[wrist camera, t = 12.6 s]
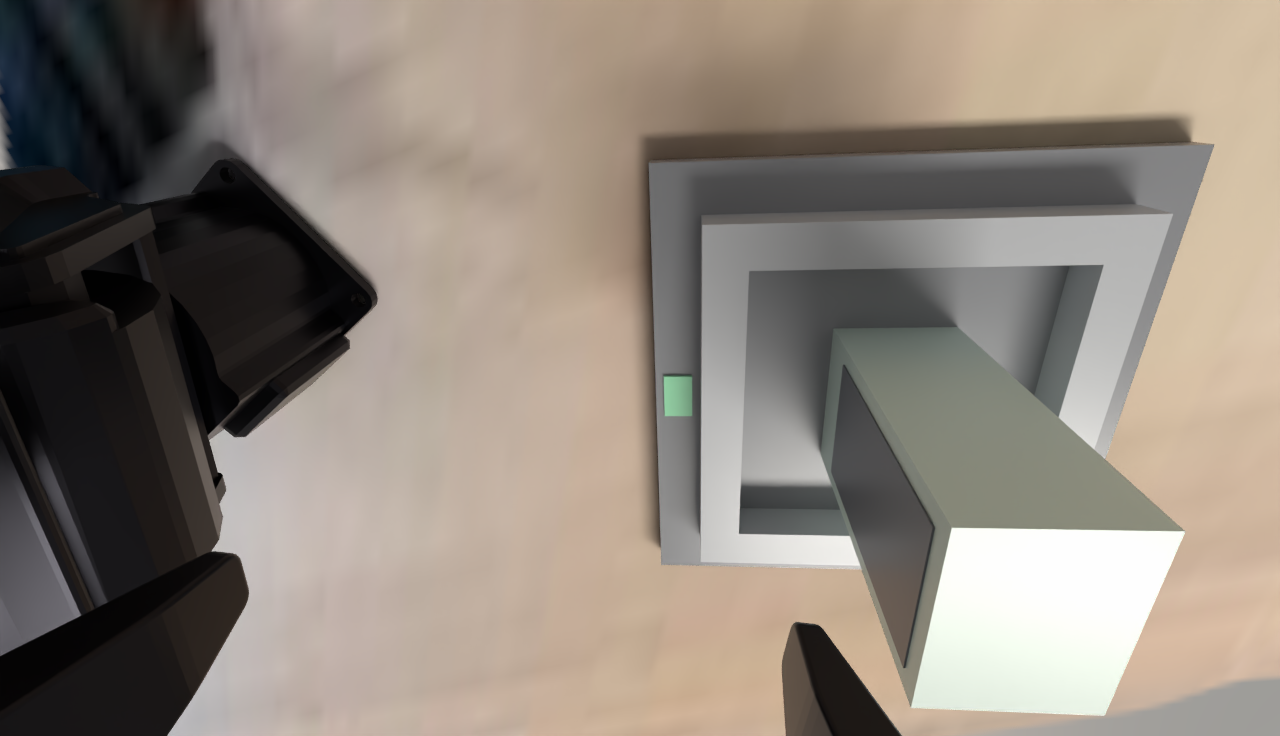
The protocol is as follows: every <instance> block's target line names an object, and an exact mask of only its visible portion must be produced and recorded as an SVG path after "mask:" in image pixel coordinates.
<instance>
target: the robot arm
mask: <svg viewBox="0 0 1280 736" xmlns="http://www.w3.org/2000/svg"><path fill="white" fill-rule="evenodd" d="M229 169H231V170H232V171H233V173H234V174H235V181H234V180H232V179H231V178H230V176H229V173H228V170H229ZM357 294H360V295H362V296H363V297H364V298H365V303H362V302H360V301H359V300H358V298H357ZM377 299H378V298H377V295H376V292H375V291H374V290H373V288H372V287H371V286H369V285H368V284H367V283H366V282H365V281H364V280H363V279H362V278H361V277H360V276H359V275H358V274H357V273H356V272H355V271H354V270H353V269H352V268H351V267H350V266H349V265H348V264H347V263H346V262H345V261H344V260H343V259H342V258H341V257H340V256H339V255H338V254H336V253H335V252H334V251H333V250H332V249H331V248H330V247H329V246H328V245H327V244H326V243H325V242H324V241H323V240H322V239H321V238H320V237H319V236H318V235H317V234H316V233H315V232H314V231H313V230H312V229H311V228H310V227H309V226H308V225H307V224H306V223H305V222H303V221H302V220H301V219H300V218H299V217H298V216H297V215H296V214H295V213H294V212H293V211H292V210H291V209H290V208H289V207H288V206H287V205H286V204H285V203H284V202H283V201H282V200H281V199H280V198H279V197H278V196H277V195H276V194H275V193H274V192H273V191H271V190H270V189H269V188H268V187H267V186H266V185H265V184H264V183H263V182H262V181H261V180H260V179H259V178H258V177H257V176H256V175H255V174H254V173H253V172H252V171H251V170H250V169H249V168H248V167H247V166H246V165H245V164H244V163H242V162H241V161H239V160H237V159H234V158H230V159H223V160H218V161H217V162H215V163H214V164H213V166H212V167H211V168H210V170H209V171H208V172H207V173H206V175H205V176H204V177H203V178H202V180H201V181H200V182H199V184H198V185H197V186H196V187H195V189H194V190H193V191H192V192H191V194H186V195H182V196H177V197H172V198H168V199H163V200H159V201H154V202H149V203H145V204H140V205H138V204H128V203H119V202H115V201H110V200H104V199H99V197H98V193H97V192H92V191H90V190H89V189H88V188H87V187H86V186H85V185H84V184H82V183H81V182H80V181H79V180H78V179H77V178H76V177H74V176H73V175H72V174H71V173H70V172H69V171H68V170H66V169H65V168H63V167H53V166H43V165H38V166H29V167H21V168H13V169H5V170H0V736H167V735H168V733H169V732H170V731H171V729H172V728H173V726H174V725H175V723H176V722H177V720H178V719H179V718H180V716H181V715H182V713H183V712H184V710H185V709H186V707H187V706H188V704H189V703H190V701H191V700H192V698H193V696H194V695H195V693H196V691H197V690H198V688H199V687H200V685H201V683H202V682H203V680H204V678H205V676H206V675H207V673H208V671H209V669H210V667H211V666H212V664H213V662H214V660H215V659H216V657H217V655H218V653H219V652H220V650H221V648H222V646H223V645H224V643H225V641H226V639H227V638H228V636H229V634H230V632H231V631H232V629H233V627H234V625H235V624H236V622H237V620H238V618H239V617H240V615H241V613H242V611H243V610H244V608H245V606H246V603H247V601H248V596H249V589H248V585H247V581H246V577H245V574H244V570H243V566H242V563H241V560H240V558H239V557H238V556H237V555H236V554H233V553H224V552H216V551H214V552H211V551H212V549H213V548H214V546H215V545H216V543H217V542H218V540H219V537H220V531H221V524H222V518H223V516H222V512H221V509H220V505H219V503H220V501H221V499H222V497H223V496H224V494H225V492H226V486H225V482H224V479H223V475H222V474H221V473H218V472H217V468H216V464H215V461H214V457H213V453H212V450H211V446H210V442H209V440H210V439H211V438H213V437H214V436H215V435H217V434H218V433H219V432H221V431H222V430H223V429H225V430H226V431H227V432H229V433H230V434H231V435H232V436H234V437H246V436H247V435H248V434H250V433H251V432H252V431H253V430H255V429H256V428H257V427H259V426H260V425H261V424H262V423H264V422H265V421H266V420H267V419H269V418H270V417H271V416H272V415H274V414H275V413H276V412H277V411H279V410H280V409H281V408H283V407H284V406H285V405H286V404H288V403H289V402H290V401H291V400H293V399H294V398H295V397H296V396H298V395H299V394H300V393H301V392H303V391H304V390H305V389H306V388H308V387H309V386H310V385H312V384H313V383H314V382H315V381H316V380H317V379H318V378H319V377H320V376H321V375H322V374H323V373H324V372H325V371H326V370H327V369H329V368H330V367H331V366H332V365H333V364H334V363H335V362H336V361H337V360H338V359H339V358H340V357H341V356H342V355H343V354H344V353H345V352H346V351H347V350H349V349H350V340H348V339H347V338H346V337H345V335H346V334H347V333H348V332H349V331H350V330H351V329H352V328H354V327H355V326H356V325H357V324H358V323H359V322H360V321H361V320H362V319H363V318H364V317H365V316H366V315H367V314H368V313H369V312H370V311H371V310H372V309H373V308H374V307H375V306H376V304H377ZM782 682H783V697H784V713H785V728H786V736H902V735H901V734H900V732H899V731H898V730H897V728H896V727H895V726H894V724H893V723H892V722H891V720H890V719H889V718H888V716H887V715H886V714H885V712H884V711H883V710H882V708H881V707H880V705H879V704H878V703H877V701H876V700H875V699H874V697H873V696H872V695H871V693H870V692H869V691H868V689H867V688H866V687H865V685H864V684H863V683H862V681H861V680H860V678H859V677H858V676H857V674H856V673H855V672H854V670H853V669H852V668H851V666H850V665H849V664H848V662H847V661H846V660H845V658H844V657H843V656H842V654H841V653H840V651H839V650H838V649H837V647H836V646H835V645H834V643H833V642H832V641H831V639H830V638H829V637H828V635H827V634H826V633H825V631H824V630H823V629H822V628H821V627H820V626H819V625H816V624H809V623H801V622H795V623H794V624H793V625H792V627H791V629H790V633H789V636H788V640H787V644H786V648H785V651H784V655H783V660H782Z"/></svg>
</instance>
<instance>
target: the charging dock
mask: <svg viewBox="0 0 1280 736" xmlns="http://www.w3.org/2000/svg"><path fill="white" fill-rule="evenodd" d="M1213 147H1214V144H1206V143H1197V142H1179V143H1149V144H1119V145H1089V146H1059V147H1029V148H999V149H969V150H939V151H909V152H879V153H849V154H819V155H789V156H759V157H729V158H699V159H669V160H650V162H649V188H650V220H651V251H652V283H653V315H654V346H655V378H656V409H657V441H658V473H659V504H660V536H661V565H696V566H739V567H781V568H824V569H861V566H860V564H859V561H858V558H857V555H856V552H855V550H854V547H853V544H852V541H851V538H850V535H849V533H848V530H847V527H846V524H845V521H844V519H843V516H842V513H841V510H840V507H839V505H838V502H837V499H836V496H835V493H834V491H833V488H832V485H831V482H830V479H829V477H828V474H827V471H826V468H825V465H824V463H823V460H822V457H821V445H822V435H823V426H824V416H825V406H826V396H827V387H828V377H829V367H830V357H831V348H832V338H833V329H834V328H920V327H958V328H959V329H961V330H962V331H963V332H964V333H965V334H966V335H967V336H968V337H969V338H971V339H972V340H973V341H974V342H975V343H976V344H977V345H978V346H979V347H981V348H982V349H983V350H984V351H985V352H986V353H987V354H988V355H989V356H991V357H992V358H993V359H994V360H995V361H996V362H997V363H998V364H999V365H1001V366H1002V367H1003V368H1004V369H1005V370H1006V371H1007V372H1008V373H1009V374H1011V375H1012V376H1013V377H1014V378H1015V379H1016V380H1017V381H1018V382H1019V383H1021V384H1022V385H1023V386H1024V387H1025V388H1026V389H1027V390H1028V391H1030V392H1031V393H1032V394H1033V395H1034V396H1035V397H1036V398H1037V399H1038V400H1040V401H1041V402H1042V403H1043V404H1044V405H1045V406H1046V407H1047V408H1048V409H1050V410H1051V411H1052V412H1053V413H1054V414H1055V415H1056V416H1057V417H1058V418H1060V419H1061V420H1062V421H1063V422H1064V423H1065V424H1066V425H1067V426H1068V427H1070V428H1071V429H1072V430H1073V431H1074V432H1075V433H1076V434H1077V435H1078V436H1080V437H1081V438H1082V439H1083V440H1084V441H1085V442H1086V443H1087V444H1088V445H1090V446H1091V447H1092V448H1093V449H1094V450H1095V451H1096V452H1097V453H1098V454H1100V455H1101V456H1102V457H1103V458H1104V459H1105V458H1106V455H1107V453H1108V450H1109V447H1110V444H1111V441H1112V438H1113V435H1114V432H1115V429H1116V427H1117V424H1118V421H1119V418H1120V415H1121V412H1122V409H1123V406H1124V404H1125V401H1126V398H1127V395H1128V392H1129V389H1130V386H1131V383H1132V380H1133V378H1134V375H1135V372H1136V369H1137V366H1138V363H1139V360H1140V357H1141V355H1142V352H1143V349H1144V346H1145V343H1146V340H1147V337H1148V334H1149V332H1150V329H1151V326H1152V323H1153V320H1154V317H1155V314H1156V311H1157V308H1158V306H1159V303H1160V300H1161V297H1162V294H1163V291H1164V288H1165V285H1166V283H1167V280H1168V277H1169V274H1170V271H1171V268H1172V265H1173V262H1174V260H1175V257H1176V254H1177V251H1178V248H1179V245H1180V242H1181V239H1182V236H1183V234H1184V231H1185V228H1186V225H1187V222H1188V219H1189V216H1190V213H1191V211H1192V208H1193V205H1194V202H1195V199H1196V196H1197V193H1198V190H1199V187H1200V185H1201V182H1202V179H1203V176H1204V173H1205V170H1206V167H1207V164H1208V162H1209V159H1210V156H1211V153H1212V150H1213Z"/></svg>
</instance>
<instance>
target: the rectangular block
mask: <svg viewBox="0 0 1280 736" xmlns="http://www.w3.org/2000/svg"><path fill="white" fill-rule="evenodd" d="M821 457H822V460H823V463H824V465H825V468H826V471H827V474H828V477H829V479H830V482H831V485H832V488H833V491H834V493H835V496H836V499H837V502H838V505H839V507H840V510H841V513H842V516H843V519H844V521H845V524H846V527H847V530H848V533H849V535H850V538H851V541H852V544H853V547H854V550H855V552H856V555H857V558H858V561H859V564H860V566H861V569H862V572H863V575H864V578H865V580H866V583H867V586H868V589H869V592H870V594H871V597H872V600H873V603H874V606H875V608H876V611H877V614H878V617H879V620H880V622H881V625H882V628H883V631H884V634H885V636H886V639H887V642H888V645H889V648H890V650H891V653H892V656H893V659H894V662H895V664H896V667H897V670H898V673H899V676H900V679H901V681H902V684H903V687H904V690H905V693H906V695H907V698H908V701H909V704H910V707H911V708H927V709H951V710H976V711H1001V712H1025V713H1050V714H1075V715H1099V716H1105V713H1106V711H1107V709H1108V706H1109V704H1110V702H1111V700H1112V697H1113V695H1114V693H1115V691H1116V688H1117V686H1118V684H1119V681H1120V679H1121V677H1122V675H1123V672H1124V670H1125V668H1126V665H1127V663H1128V661H1129V659H1130V656H1131V654H1132V652H1133V649H1134V647H1135V645H1136V643H1137V640H1138V638H1139V636H1140V634H1141V631H1142V629H1143V627H1144V624H1145V622H1146V620H1147V618H1148V615H1149V613H1150V611H1151V608H1152V606H1153V604H1154V602H1155V599H1156V597H1157V595H1158V592H1159V590H1160V588H1161V586H1162V583H1163V581H1164V579H1165V577H1166V574H1167V572H1168V570H1169V567H1170V565H1171V563H1172V561H1173V558H1174V556H1175V554H1176V551H1177V549H1178V547H1179V545H1180V542H1181V540H1182V538H1183V536H1184V533H1185V531H1184V530H1183V529H1182V528H1181V527H1180V526H1179V525H1177V524H1176V523H1175V522H1174V521H1173V520H1172V519H1171V518H1170V517H1169V516H1167V515H1166V514H1165V513H1164V512H1163V511H1162V510H1161V509H1160V508H1159V507H1157V506H1156V505H1155V504H1154V503H1153V502H1152V501H1151V500H1150V499H1149V498H1147V497H1146V496H1145V495H1144V494H1143V493H1142V492H1141V491H1140V490H1139V489H1137V488H1136V487H1135V486H1134V485H1133V484H1132V483H1131V482H1130V481H1129V480H1127V479H1126V478H1125V477H1124V476H1123V475H1122V474H1121V473H1120V472H1119V471H1117V470H1116V469H1115V468H1114V467H1113V466H1112V465H1111V464H1110V463H1109V462H1107V461H1106V460H1105V459H1104V458H1103V457H1102V456H1101V455H1100V454H1098V453H1097V452H1096V451H1095V450H1094V449H1093V448H1092V447H1091V446H1090V445H1088V444H1087V443H1086V442H1085V441H1084V440H1083V439H1082V438H1081V437H1080V436H1078V435H1077V434H1076V433H1075V432H1074V431H1073V430H1072V429H1071V428H1070V427H1068V426H1067V425H1066V424H1065V423H1064V422H1063V421H1062V420H1061V419H1060V418H1058V417H1057V416H1056V415H1055V414H1054V413H1053V412H1052V411H1051V410H1050V409H1048V408H1047V407H1046V406H1045V405H1044V404H1043V403H1042V402H1041V401H1040V400H1038V399H1037V398H1036V397H1035V396H1034V395H1033V394H1032V393H1031V392H1030V391H1028V390H1027V389H1026V388H1025V387H1024V386H1023V385H1022V384H1021V383H1019V382H1018V381H1017V380H1016V379H1015V378H1014V377H1013V376H1012V375H1011V374H1009V373H1008V372H1007V371H1006V370H1005V369H1004V368H1003V367H1002V366H1001V365H999V364H998V363H997V362H996V361H995V360H994V359H993V358H992V357H991V356H989V355H988V354H987V353H986V352H985V351H984V350H983V349H982V348H981V347H979V346H978V345H977V344H976V343H975V342H974V341H973V340H972V339H971V338H969V337H968V336H967V335H966V334H965V333H964V332H963V331H962V330H961V329H959V328H958V327H920V328H834V329H833V338H832V348H831V357H830V367H829V377H828V387H827V396H826V406H825V416H824V426H823V435H822V445H821Z"/></svg>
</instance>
